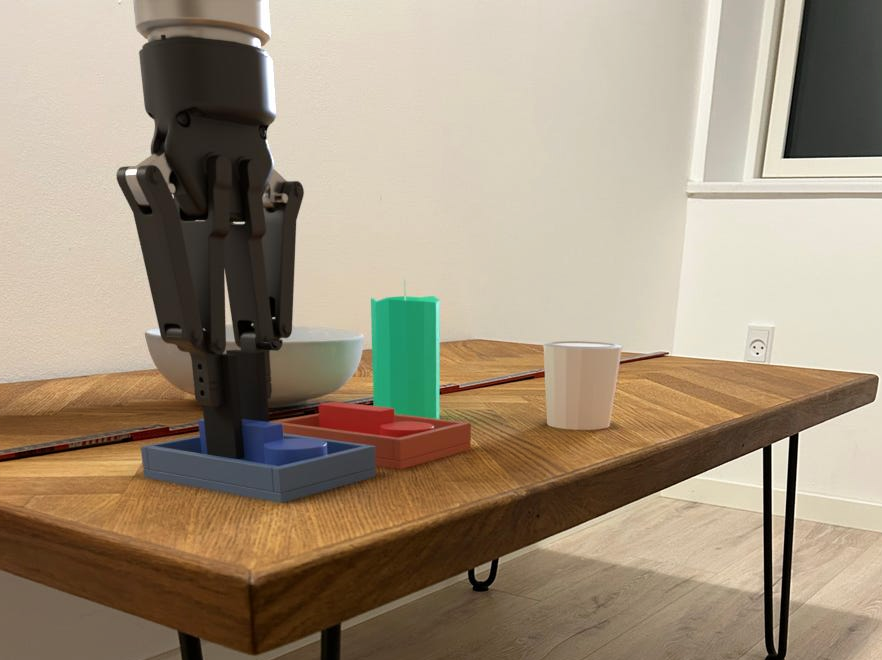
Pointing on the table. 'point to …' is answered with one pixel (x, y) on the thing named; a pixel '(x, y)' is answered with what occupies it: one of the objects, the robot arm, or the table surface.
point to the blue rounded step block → (271, 444)
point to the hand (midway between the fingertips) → (239, 452)
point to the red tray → (394, 439)
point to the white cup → (580, 383)
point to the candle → (406, 354)
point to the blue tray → (258, 469)
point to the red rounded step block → (367, 420)
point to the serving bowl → (279, 363)
